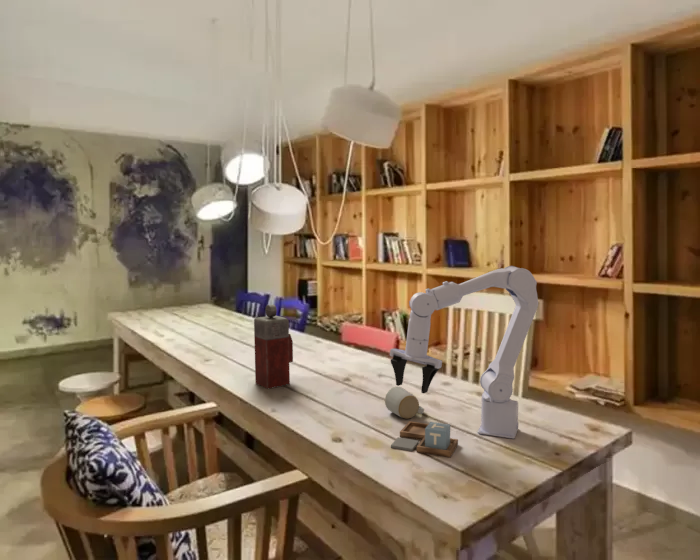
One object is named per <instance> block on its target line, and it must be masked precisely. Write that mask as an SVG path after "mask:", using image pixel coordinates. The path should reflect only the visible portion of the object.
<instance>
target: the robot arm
mask: <svg viewBox="0 0 700 560" xmlns="http://www.w3.org/2000/svg"><path fill="white" fill-rule="evenodd" d="M537 283H538V281H537V280H536V278H535V277H534V275H533V274H532V272H531V271H530V270H528V269H526V268H523V267H521V268H520V267H517V266H514V265H508V266H505V267H504V268H503V267H502V268H497V269H494V270H490V271H488V272H486V273H484V274H481V275H479V276H477V277H474V278H471V279H469V280H466V281H464V282H461V283H456V282H454V281H447V280H446V281H443V282H442V285H439V286H436V287H433V288H426V289H424V290H425V292H422V291H421V292H420V291H419V292H415V293H414V294H413V295H412V296H411V297H410V300H409V301H408V304H409V308H410V309H411V310H410V313H409V319H408V326H407V332H406V342H405V348H404V349H405V350H404V349H399V348H394V347H393V348H390V349H389V356H390V357H392V358H391V359H390V364H391V366H392V369H393V372H394V378H395V386H396V387H400V386H402V385H403V381H404V375H405V368H406V365H407V362H408V361H410V362H414V363H418V364H421V365H425V366H422V367H421V370H422V372H421V373H422V381H421V382H422V383H421V394H426V393H428V391H429V389H430V385H431V383H432V381H433V379H434V378H435V377H436V374H437V373H438V372H439V370H440V369H441V368H442V365H443V359H442V360H440V359H438V358H435V357H433V356H431V355H428V348H429V340H430V339H429V338H430V331H431V324H432V323H431V320H432V318H431V317H432V315H433V314H434V312H435V311H439V310H443V309H444V308H448V307H449V306H453V305H456V304H459V303H460V302H461V300H462V298H463V297H464V296H466V295H471V294H474V293H476V292H480V291H482V290H486V289H489V288H500V289H505V290H506V292H508V293H509V294H510V296H511V298H512V300H513V302H514V304H515V306H514V309H513V312H512V314H511V316H510V319H509V322H508V325H507V327H506V328H505V329H506V330H505V332H504V334H503V337H502V340H501V343H500V345H499V347H498V350H497V352H496V355H495V357H494V359H493V360H492V361H491V362H489V364H488V367H487V369H486V370H485V371H484V372H483V373H482V374H481V376H480V379H479V384H480V387H481V388H482V389H483V392H482V394H481V414H480V417H481V418H480V421H481V422H480V425H479V427H478V430H477V434H481V435H485V436H492V437H493V436H495V437H499V438H507V439H515V438H516V436H517V433H518V430H519V401H518V400H514V399H511V397H512V395H513V392H514V391H513V390H514V389H513V384H514V383H513V382H514V380H515V373H514V372H515V368H514V367H515V366H516V363H517V360H518V357H519V356H520V353H521V351H522V348H523V345H524V344H525V341H526V338H527V336H528V332H529V330H530V327H531V325H532V323H533V320H534V318H535V315H536V313H537V310H538V308H539V299H538V297H539V296H538V292H537Z"/></svg>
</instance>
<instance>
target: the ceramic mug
mask: <svg viewBox="0 0 700 560" xmlns="http://www.w3.org/2000/svg"><path fill="white" fill-rule="evenodd" d="M384 404H385V408H386V409H387V410H388V411H389V412H391V413H393V414H394V415H396V416H398V417H399V418H401V419H404V420H406V419H407V420H408V419H411V418H412V419H413V417H415V416H416V415H417V414H421V415H422V414H424V412H425V408H424V407H422V406H421V405H420V402H419V400H418V398H417V397H416V396H415V395H414V394H413V393H411V392H409V391H408V390H407V389H406V388H403V387H402V386H394V387H392V388H390V389H389V390H388V391H387V393H386V394H385V398H384Z"/></svg>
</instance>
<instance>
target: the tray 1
mask: <svg viewBox="0 0 700 560" xmlns="http://www.w3.org/2000/svg"><path fill="white" fill-rule="evenodd" d="M428 425H429V423H426V422H425V423H424V422H417V421H412V420H411V421H410V420H409V421H408V422H407V423H406V424H405V426H403V427H402V429H401V430H399V438H405V439H412V440H418V441H421V440H422V439H423V438H424V437H425V428H426V427H427V426H428Z"/></svg>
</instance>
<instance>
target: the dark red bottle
mask: <svg viewBox="0 0 700 560" xmlns="http://www.w3.org/2000/svg"><path fill="white" fill-rule="evenodd" d="M277 310H278V309H277V306H276V305H275V304H267V305H266V306H265V315H266V316H260V317H255V318H254V319H253V327H254V328H253V331H254V335H253V336H254V337H253V339H254V369H255V371H254V372H255V373H254V377H255V379H254V380H255V384H256V383H257V384H256V385H258V384H259V385H258V386H260V385H261V386H260V387H262V386H263V388H264V387H265V388H264V389H266V388H267V389H266V390H269V389H268V388H270V389H273V388H272V387H275V388H278V387H277V386H280V387H283V386H282V385H284V386H287V385H286V384H289V385H290V384H291V383H290V379H291V377H290V375H291V374H290V363H293V362H294V349H293V346H294V345H293V344H294V343H293V338H292V335H291V334H290V332H289V331H290V330H289V327H290V326H289V323H290V321H289V319H288V318H286V317H284V316H283V317H282V316H279V315H277V312H278V311H277Z"/></svg>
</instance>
